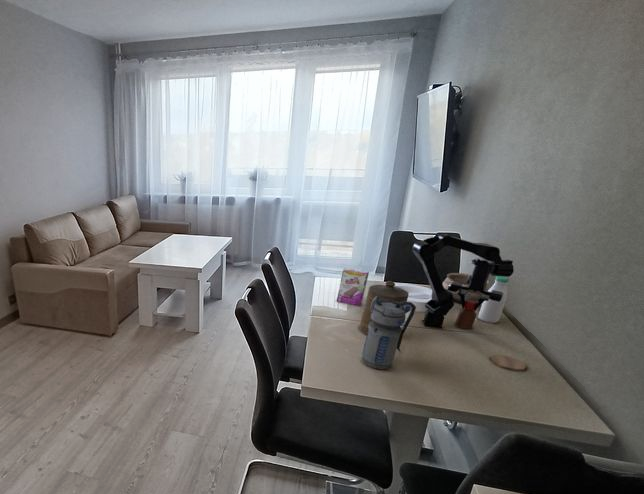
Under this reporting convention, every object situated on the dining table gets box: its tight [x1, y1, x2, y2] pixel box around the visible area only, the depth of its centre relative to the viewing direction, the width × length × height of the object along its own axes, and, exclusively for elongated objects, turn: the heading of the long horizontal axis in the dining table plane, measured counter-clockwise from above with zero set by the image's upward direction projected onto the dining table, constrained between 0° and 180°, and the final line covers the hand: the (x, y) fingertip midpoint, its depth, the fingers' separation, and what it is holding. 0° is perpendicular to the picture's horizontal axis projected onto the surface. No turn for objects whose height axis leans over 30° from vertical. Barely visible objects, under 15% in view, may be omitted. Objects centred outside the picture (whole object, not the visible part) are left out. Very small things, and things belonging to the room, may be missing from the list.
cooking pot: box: [442, 272, 490, 305], centre depth 205 cm, size 25×19×12 cm
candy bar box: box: [336, 267, 370, 307], centre depth 199 cm, size 11×5×16 cm, turn 58°
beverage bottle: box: [361, 296, 416, 370], centre depth 142 cm, size 10×13×25 cm
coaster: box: [490, 354, 527, 372], centre depth 149 cm, size 10×10×1 cm
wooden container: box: [359, 280, 409, 335], centre depth 168 cm, size 15×15×22 cm
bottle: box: [454, 308, 478, 330], centre depth 177 cm, size 6×6×10 cm
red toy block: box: [464, 300, 478, 311], centre depth 175 cm, size 4×4×3 cm
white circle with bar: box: [383, 282, 432, 313], centre depth 205 cm, size 28×28×5 cm
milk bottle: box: [477, 276, 510, 324], centre depth 183 cm, size 8×8×20 cm
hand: (468, 310), depth 176 cm, fingers closed on red toy block, 4 cm apart
